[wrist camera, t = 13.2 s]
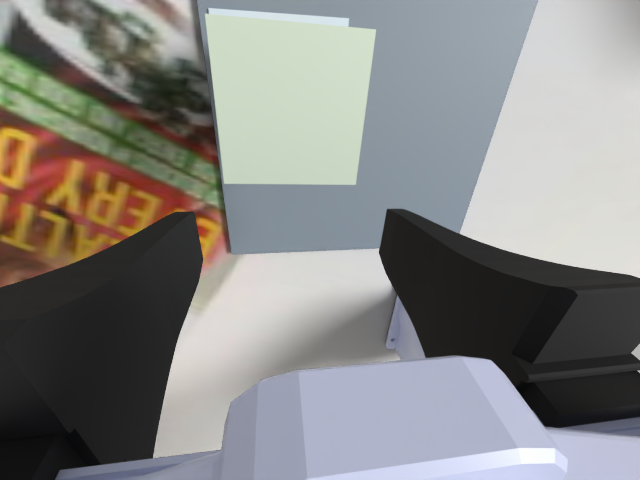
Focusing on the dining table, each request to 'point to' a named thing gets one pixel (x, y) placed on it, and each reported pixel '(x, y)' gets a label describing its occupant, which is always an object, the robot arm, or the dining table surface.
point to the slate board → (389, 120)
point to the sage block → (289, 99)
